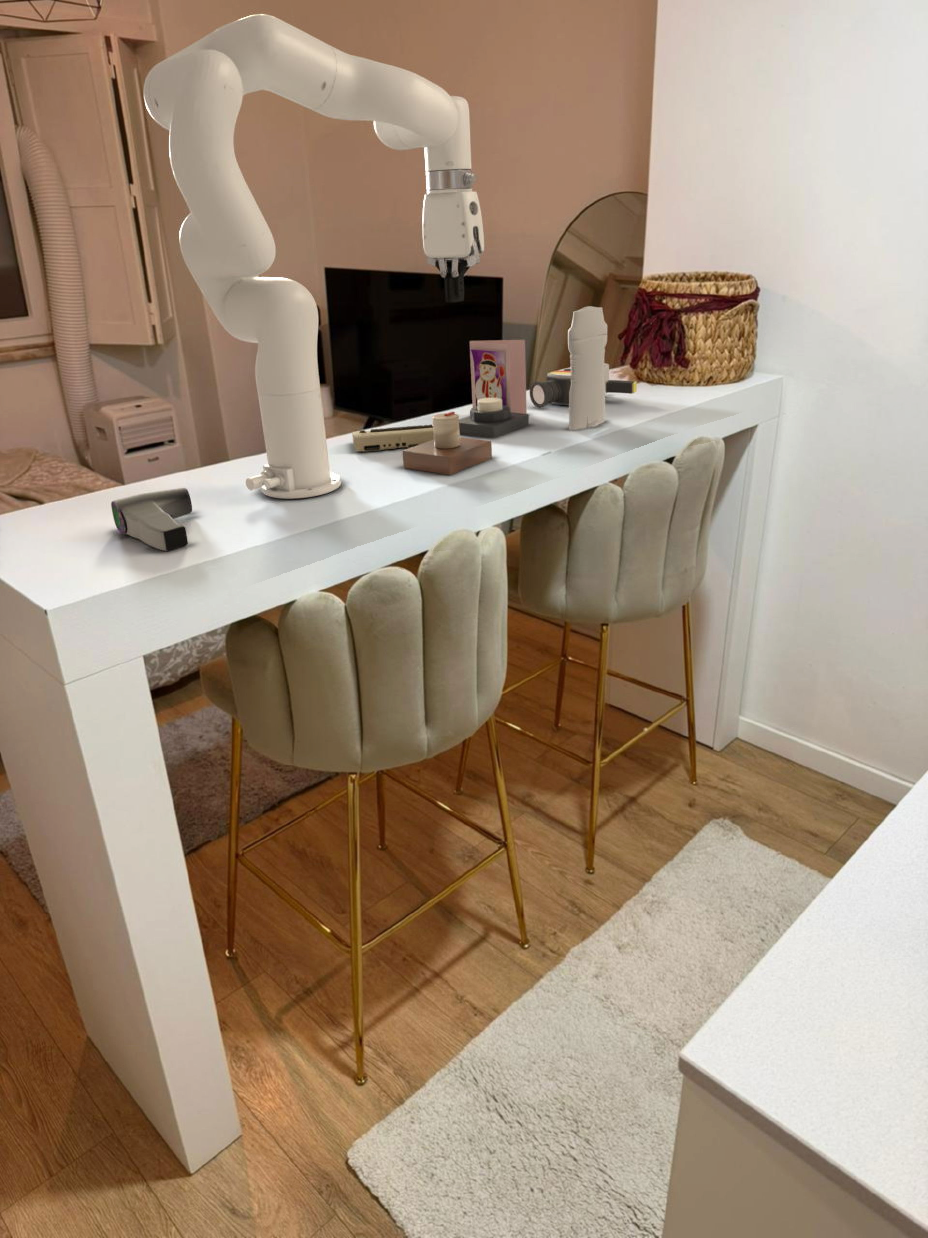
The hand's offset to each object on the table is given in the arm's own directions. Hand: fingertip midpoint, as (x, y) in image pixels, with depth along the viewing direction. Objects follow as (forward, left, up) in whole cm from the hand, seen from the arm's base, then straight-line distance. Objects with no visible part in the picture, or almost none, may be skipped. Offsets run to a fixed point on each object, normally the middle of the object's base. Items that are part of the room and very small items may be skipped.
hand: (455, 300), depth 153 cm
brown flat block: (-12, -6, -25) cm, 28 cm away
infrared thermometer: (-59, +7, -25) cm, 65 cm away
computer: (-6, +11, -25) cm, 28 cm away
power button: (+12, +2, -21) cm, 25 cm away
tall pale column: (+23, -14, -25) cm, 36 cm away
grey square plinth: (+12, +2, -25) cm, 28 cm away
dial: (-12, -6, -22) cm, 26 cm away
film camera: (+40, -3, -25) cm, 47 cm away
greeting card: (+23, +7, -25) cm, 35 cm away
